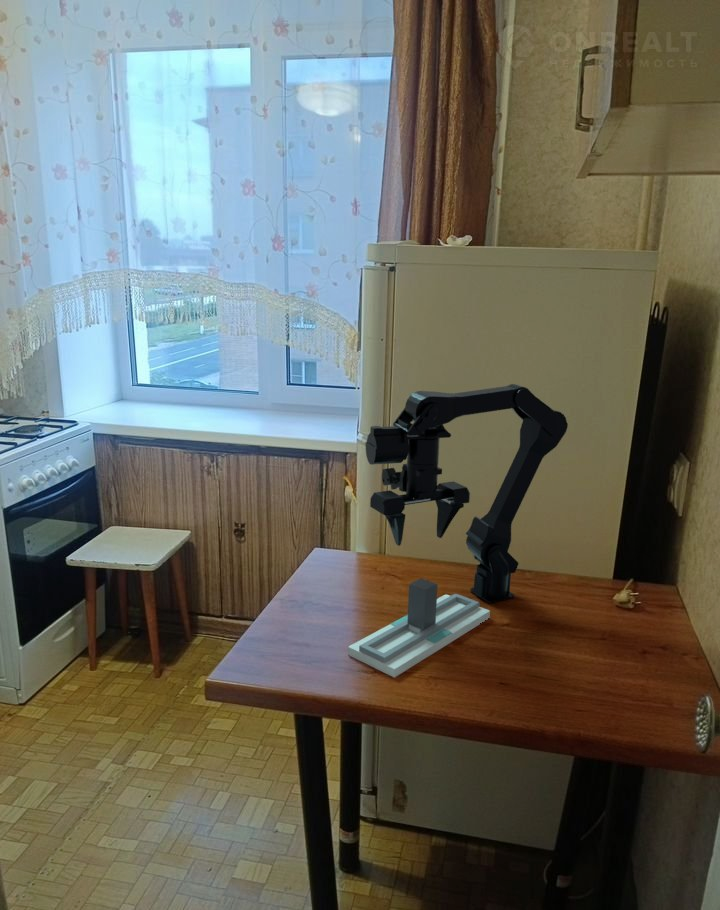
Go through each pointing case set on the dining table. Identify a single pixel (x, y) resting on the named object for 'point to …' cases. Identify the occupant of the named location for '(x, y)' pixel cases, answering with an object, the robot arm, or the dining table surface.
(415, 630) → the fader
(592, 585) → the dining table surface
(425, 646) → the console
